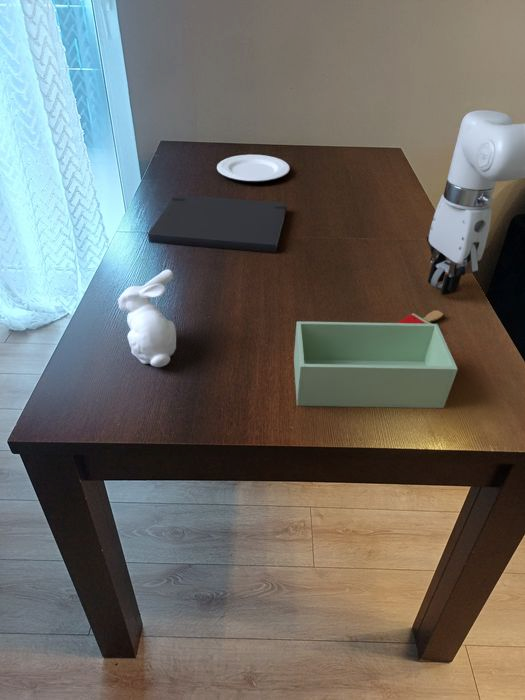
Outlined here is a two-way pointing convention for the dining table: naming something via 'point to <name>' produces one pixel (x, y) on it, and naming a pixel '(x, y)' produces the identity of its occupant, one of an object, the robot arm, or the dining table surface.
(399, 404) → the bin
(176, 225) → the notebook
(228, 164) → the plate
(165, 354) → the rabbit
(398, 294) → the dining table surface
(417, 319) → the popsicle
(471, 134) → the robot arm
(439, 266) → the wristwatch
